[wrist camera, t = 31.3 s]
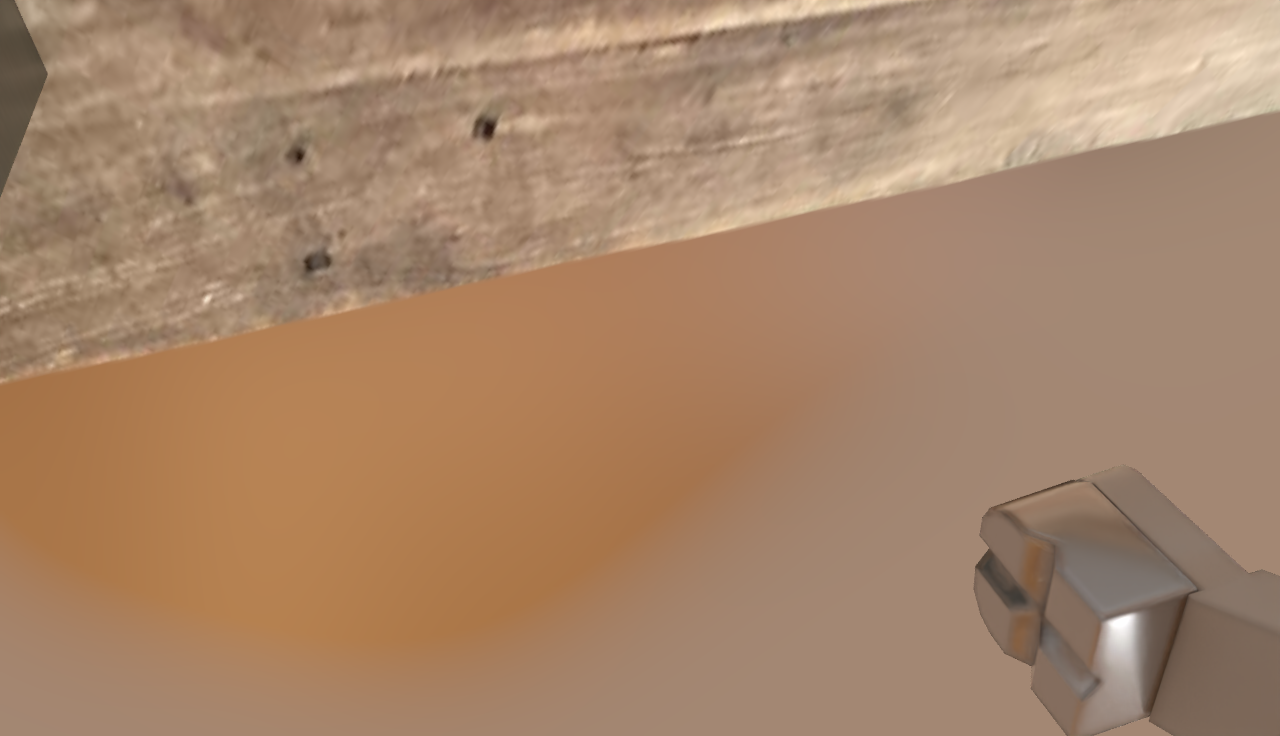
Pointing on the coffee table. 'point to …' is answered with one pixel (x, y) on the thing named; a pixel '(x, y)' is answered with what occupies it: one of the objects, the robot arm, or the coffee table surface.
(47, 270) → the coffee table surface
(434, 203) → the coffee table surface
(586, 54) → the coffee table surface
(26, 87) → the stand
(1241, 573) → the robot arm
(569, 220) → the coffee table surface
